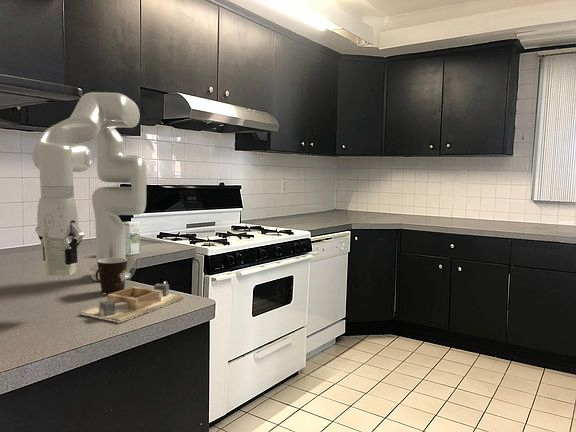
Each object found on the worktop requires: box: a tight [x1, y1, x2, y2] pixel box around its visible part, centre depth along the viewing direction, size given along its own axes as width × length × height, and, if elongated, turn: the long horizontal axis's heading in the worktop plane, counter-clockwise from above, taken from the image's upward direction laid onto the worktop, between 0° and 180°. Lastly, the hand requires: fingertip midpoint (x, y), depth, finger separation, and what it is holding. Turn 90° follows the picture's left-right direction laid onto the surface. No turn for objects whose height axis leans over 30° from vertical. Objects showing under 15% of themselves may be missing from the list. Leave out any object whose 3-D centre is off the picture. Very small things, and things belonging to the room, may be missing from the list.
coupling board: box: [79, 283, 184, 322], centre depth 131 cm, size 14×25×4 cm, turn 155°
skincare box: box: [43, 229, 77, 277], centre depth 122 cm, size 6×4×12 cm
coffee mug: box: [96, 258, 128, 294], centre depth 144 cm, size 12×9×10 cm
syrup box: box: [122, 220, 141, 257], centre depth 208 cm, size 6×6×14 cm
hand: (60, 261), depth 122 cm, fingers closed on skincare box, 7 cm apart
